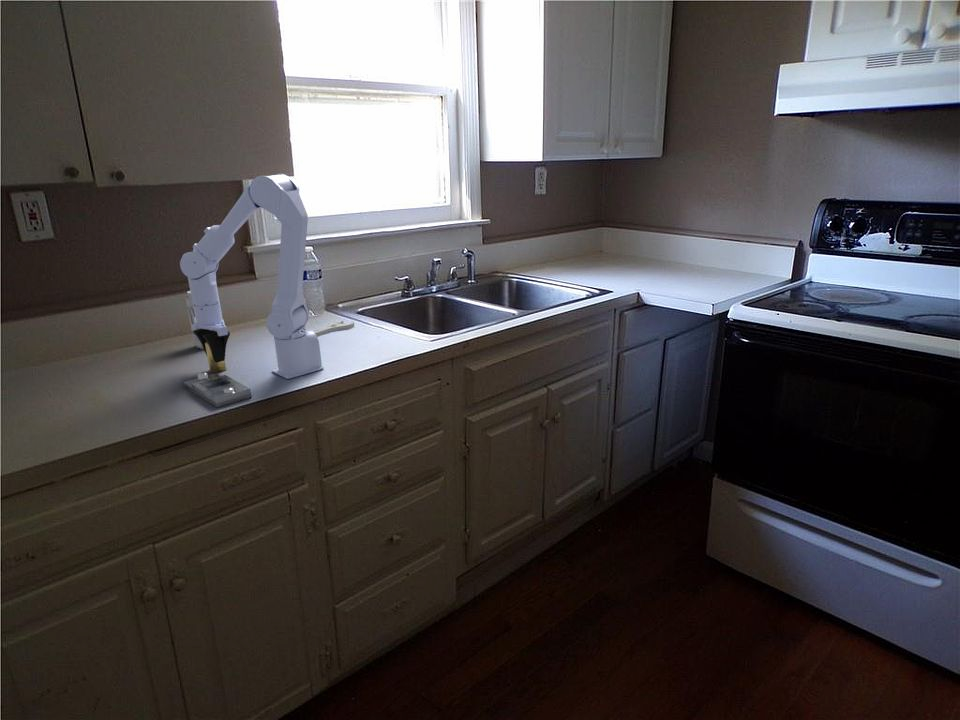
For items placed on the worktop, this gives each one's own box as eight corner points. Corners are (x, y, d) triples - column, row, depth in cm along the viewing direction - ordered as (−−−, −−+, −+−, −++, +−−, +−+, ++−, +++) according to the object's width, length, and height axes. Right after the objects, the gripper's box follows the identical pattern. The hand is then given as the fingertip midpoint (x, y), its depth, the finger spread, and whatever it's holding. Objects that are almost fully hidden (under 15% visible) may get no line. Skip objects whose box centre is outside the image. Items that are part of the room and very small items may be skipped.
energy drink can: (190, 349, 165) (179, 294, 160) (201, 342, 171) (191, 288, 166) (212, 349, 165) (202, 293, 160) (222, 342, 171) (213, 288, 166)
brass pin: (222, 366, 151) (217, 338, 149) (228, 369, 149) (223, 341, 147) (207, 370, 149) (202, 342, 147) (213, 373, 146) (208, 345, 144)
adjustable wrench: (281, 349, 165) (280, 343, 164) (268, 345, 169) (267, 339, 168) (357, 327, 182) (357, 321, 182) (344, 324, 186) (343, 318, 186)
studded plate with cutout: (216, 377, 144) (215, 367, 143) (251, 397, 132) (249, 386, 131) (183, 386, 139) (181, 375, 138) (216, 407, 127) (214, 396, 126)
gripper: (176, 301, 146) (187, 357, 150) (201, 311, 136) (211, 370, 140) (207, 296, 151) (216, 350, 155) (232, 305, 141) (241, 362, 145)
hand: (216, 359), depth 148 cm, fingers closed on brass pin, 4 cm apart
